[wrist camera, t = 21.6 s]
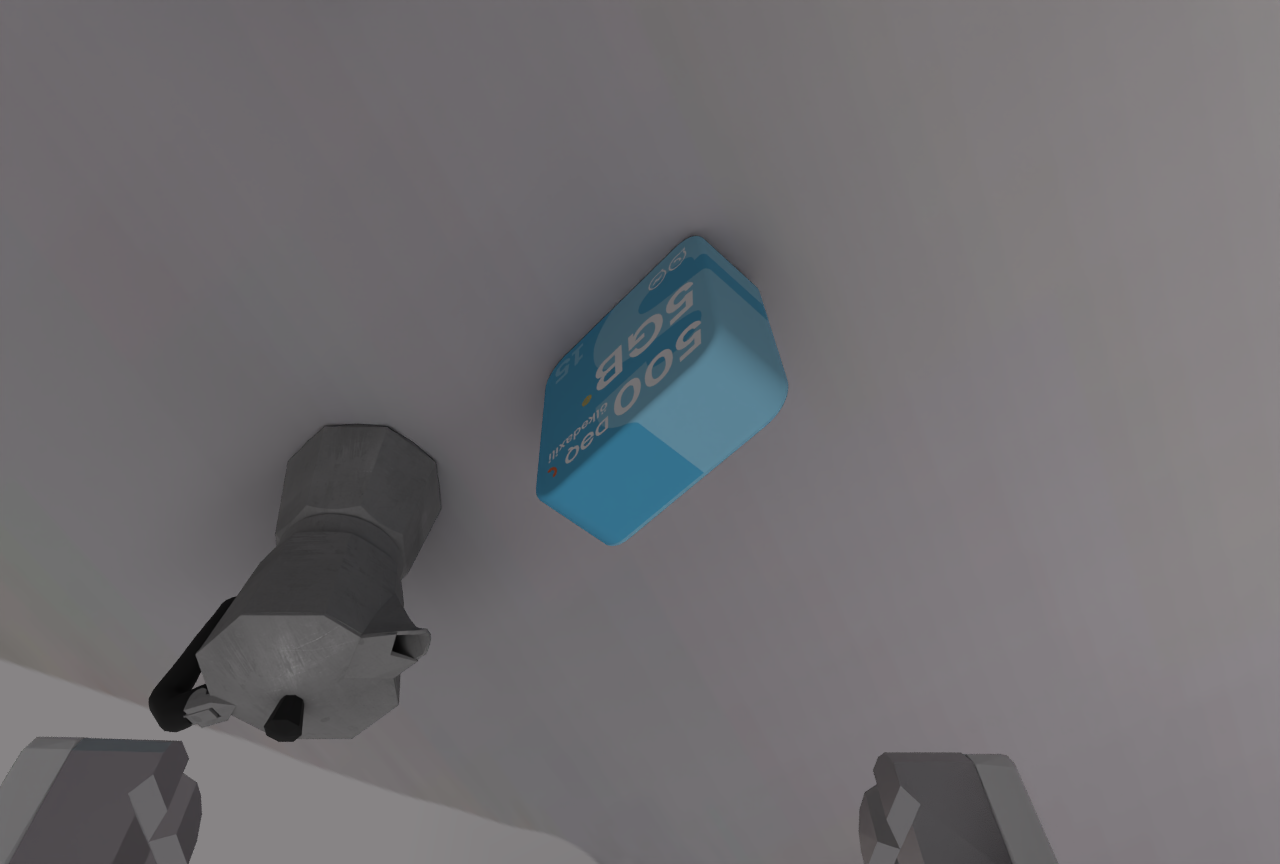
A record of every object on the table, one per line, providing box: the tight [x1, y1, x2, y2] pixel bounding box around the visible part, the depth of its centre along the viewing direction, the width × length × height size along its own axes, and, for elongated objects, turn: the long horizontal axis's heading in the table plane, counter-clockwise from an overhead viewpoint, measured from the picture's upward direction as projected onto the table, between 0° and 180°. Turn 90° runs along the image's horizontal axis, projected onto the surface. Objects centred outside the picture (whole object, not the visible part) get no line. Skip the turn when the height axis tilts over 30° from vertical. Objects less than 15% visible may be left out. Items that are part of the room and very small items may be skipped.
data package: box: [536, 236, 788, 546], centre depth 45 cm, size 12×4×12 cm, turn 137°
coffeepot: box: [149, 424, 441, 742], centre depth 48 cm, size 15×9×18 cm, turn 110°
